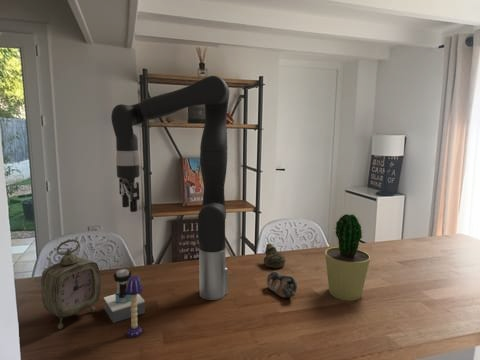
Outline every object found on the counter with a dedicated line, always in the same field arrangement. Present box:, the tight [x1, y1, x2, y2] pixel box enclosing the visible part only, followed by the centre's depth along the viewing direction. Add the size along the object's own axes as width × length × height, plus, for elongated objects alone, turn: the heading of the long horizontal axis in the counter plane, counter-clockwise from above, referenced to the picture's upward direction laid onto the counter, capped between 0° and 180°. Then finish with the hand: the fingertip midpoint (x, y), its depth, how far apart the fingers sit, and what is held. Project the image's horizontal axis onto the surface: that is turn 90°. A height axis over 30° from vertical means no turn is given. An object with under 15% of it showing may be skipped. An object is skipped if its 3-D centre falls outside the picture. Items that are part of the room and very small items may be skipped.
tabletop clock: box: [40, 239, 101, 330], centre depth 100 cm, size 14×9×25 cm, turn 148°
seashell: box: [263, 243, 286, 269], centre depth 143 cm, size 11×12×10 cm
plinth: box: [103, 293, 146, 324], centre depth 106 cm, size 10×10×4 cm
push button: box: [113, 268, 133, 304], centre depth 104 cm, size 7×5×10 cm
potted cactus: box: [324, 213, 371, 302], centre depth 118 cm, size 15×15×30 cm
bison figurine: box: [266, 271, 298, 299], centre depth 118 cm, size 12×7×10 cm
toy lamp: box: [125, 275, 144, 338], centre depth 93 cm, size 5×5×17 cm
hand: (129, 209), depth 116 cm, fingers open, 8 cm apart
